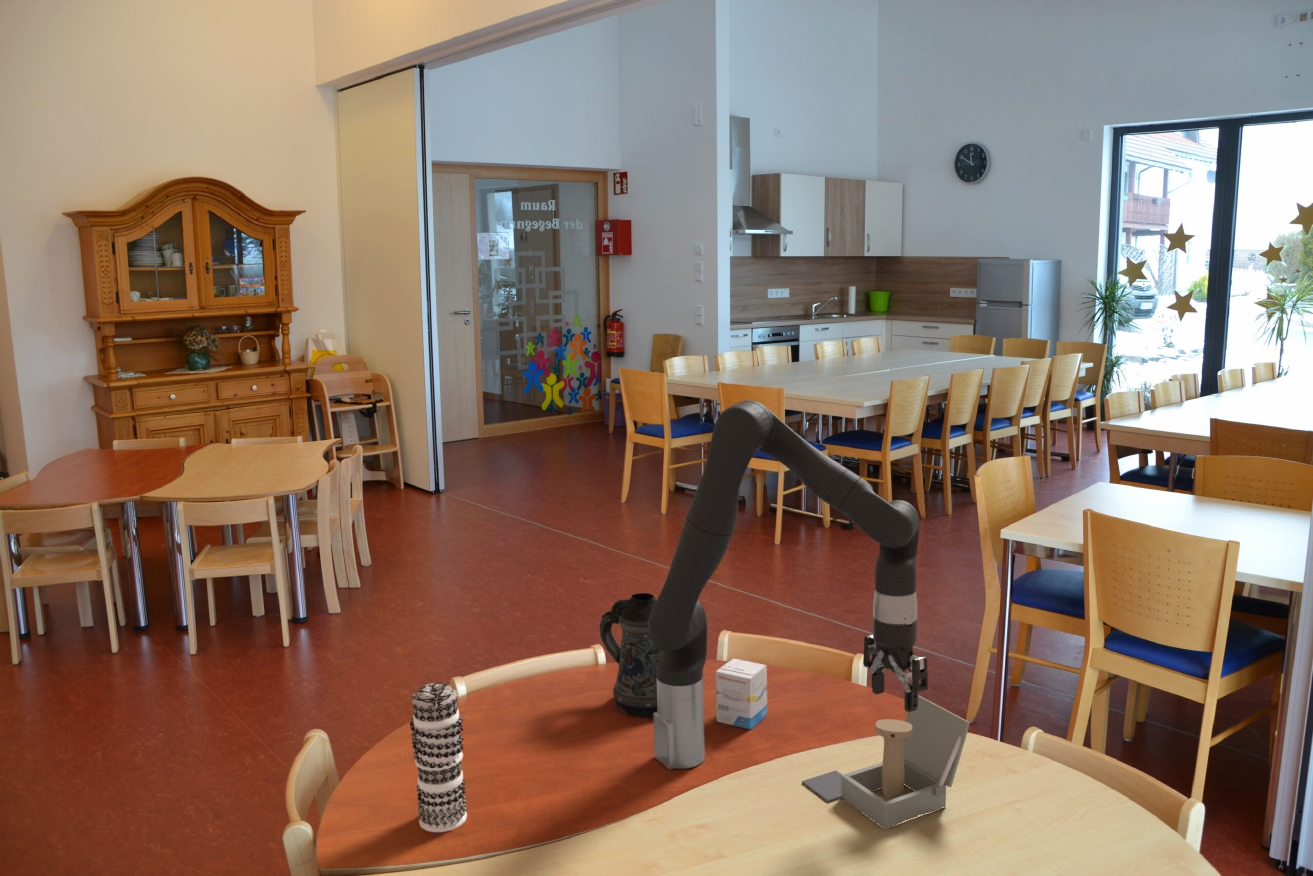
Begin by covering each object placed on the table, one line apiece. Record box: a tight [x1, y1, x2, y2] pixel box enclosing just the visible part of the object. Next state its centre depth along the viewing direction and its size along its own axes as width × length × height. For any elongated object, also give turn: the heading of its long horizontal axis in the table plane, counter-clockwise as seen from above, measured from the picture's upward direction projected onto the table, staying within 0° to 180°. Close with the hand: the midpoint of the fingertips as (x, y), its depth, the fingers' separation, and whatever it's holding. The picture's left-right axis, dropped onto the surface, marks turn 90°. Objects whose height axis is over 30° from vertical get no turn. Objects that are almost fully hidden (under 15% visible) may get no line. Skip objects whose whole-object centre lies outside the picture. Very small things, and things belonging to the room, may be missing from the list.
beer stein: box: [599, 592, 663, 719], centre depth 221 cm, size 16×19×25 cm
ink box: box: [715, 658, 768, 730], centre depth 213 cm, size 8×8×12 cm
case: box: [840, 694, 971, 830], centre depth 178 cm, size 18×14×16 cm
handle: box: [875, 718, 912, 801], centre depth 177 cm, size 5×6×15 cm
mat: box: [801, 770, 843, 803], centre depth 184 cm, size 8×8×1 cm
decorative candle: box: [409, 682, 468, 833], centre depth 175 cm, size 9×9×25 cm
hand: (894, 701), depth 175 cm, fingers open, 8 cm apart
